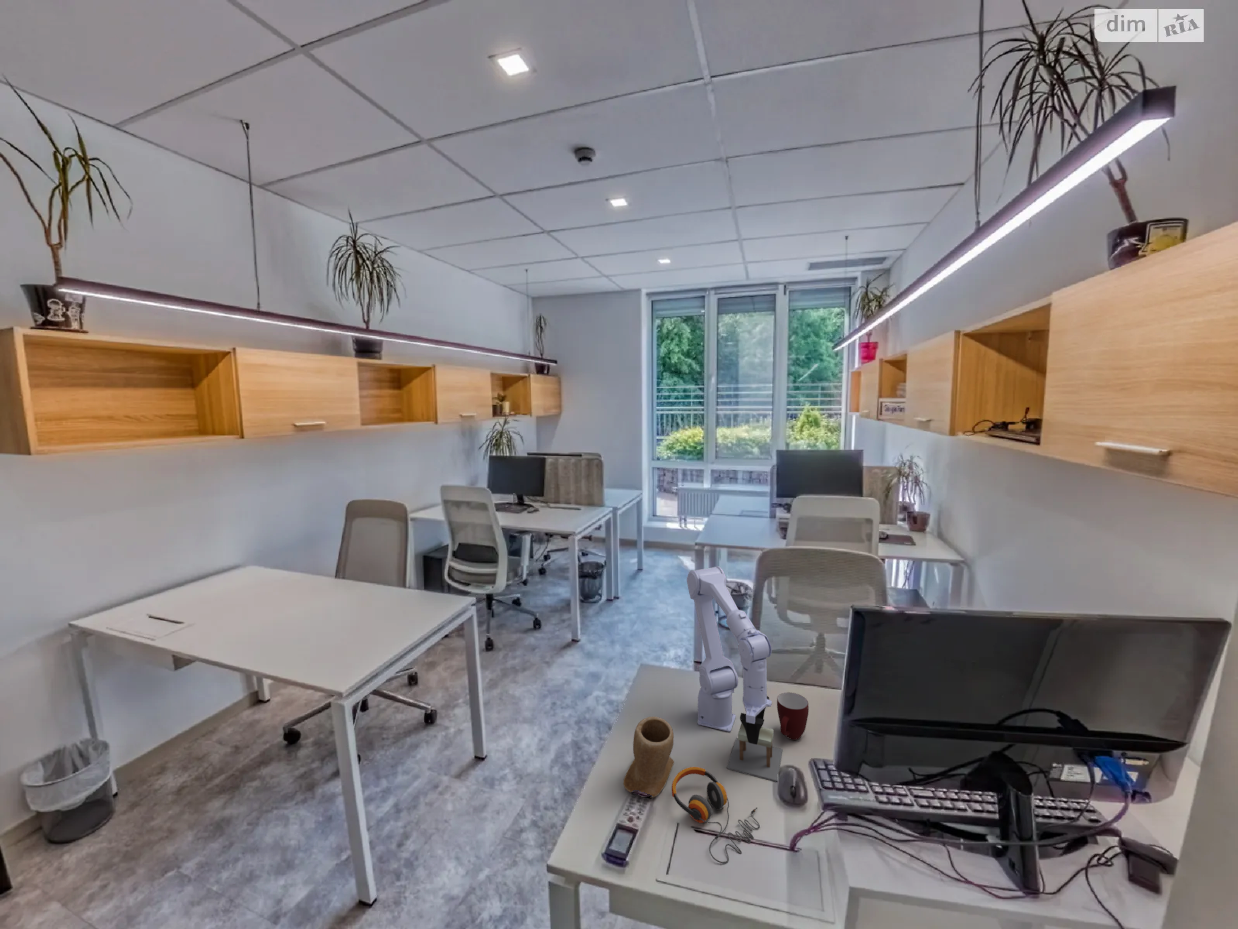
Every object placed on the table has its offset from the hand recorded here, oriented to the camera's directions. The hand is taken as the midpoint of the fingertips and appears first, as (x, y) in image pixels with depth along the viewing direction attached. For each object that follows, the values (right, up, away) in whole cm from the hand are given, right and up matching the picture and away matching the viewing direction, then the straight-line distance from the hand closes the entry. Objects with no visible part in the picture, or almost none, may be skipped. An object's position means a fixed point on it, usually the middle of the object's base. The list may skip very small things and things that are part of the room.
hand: (755, 733), depth 123 cm
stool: (0, -7, +1) cm, 7 cm away
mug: (+12, -6, +8) cm, 16 cm away
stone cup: (-26, -9, -5) cm, 28 cm away
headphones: (-14, -10, -16) cm, 23 cm away
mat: (0, -7, +1) cm, 7 cm away
